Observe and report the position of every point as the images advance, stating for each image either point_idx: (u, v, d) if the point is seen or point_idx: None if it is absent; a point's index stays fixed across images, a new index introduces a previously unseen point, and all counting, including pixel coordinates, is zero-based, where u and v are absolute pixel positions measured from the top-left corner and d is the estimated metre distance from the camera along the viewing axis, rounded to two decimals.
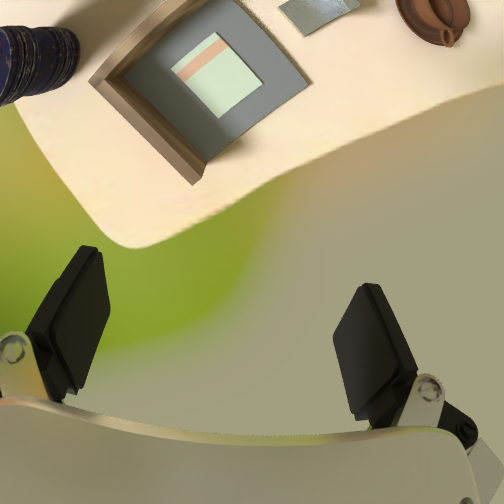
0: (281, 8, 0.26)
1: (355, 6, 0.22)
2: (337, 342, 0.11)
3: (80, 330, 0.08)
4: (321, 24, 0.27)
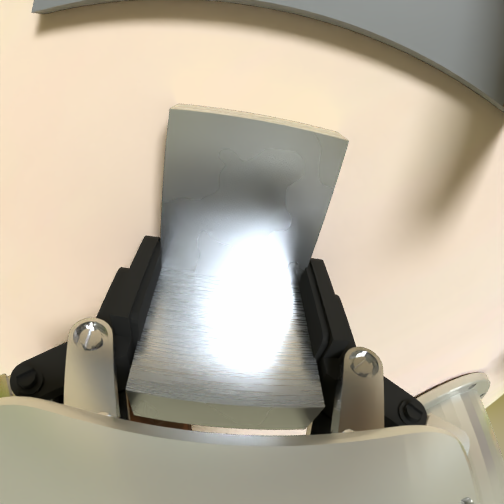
0: (334, 142, 0.08)
1: (137, 405, 0.07)
2: None
3: None
4: (167, 202, 0.09)
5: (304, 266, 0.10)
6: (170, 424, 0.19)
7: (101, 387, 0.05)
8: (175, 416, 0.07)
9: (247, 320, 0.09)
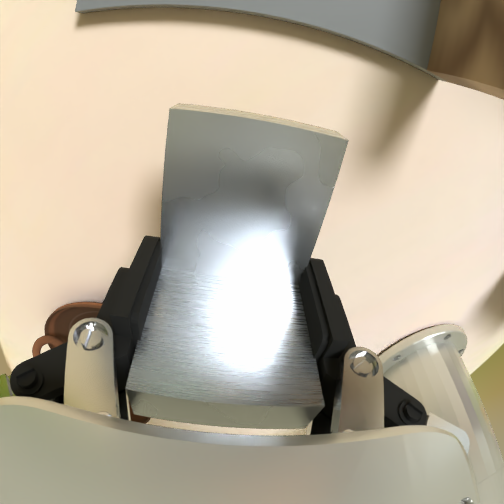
0: (334, 142, 0.08)
1: (137, 404, 0.07)
2: None
3: None
4: (167, 201, 0.09)
5: (304, 265, 0.10)
6: None
7: (101, 387, 0.05)
8: (174, 415, 0.07)
9: (247, 319, 0.09)
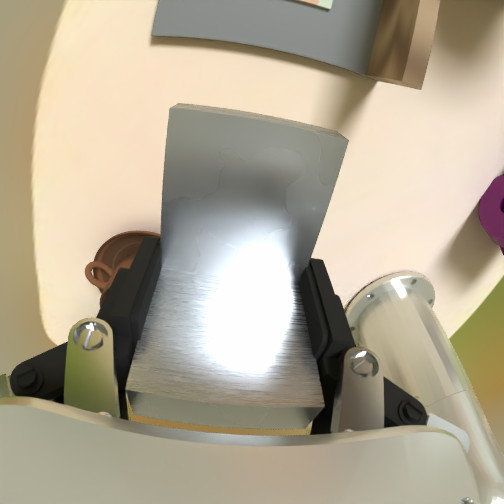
0: (334, 142, 0.08)
1: (137, 404, 0.07)
2: None
3: None
4: (167, 201, 0.09)
5: (304, 266, 0.10)
6: None
7: (101, 387, 0.05)
8: (174, 416, 0.07)
9: (247, 319, 0.09)
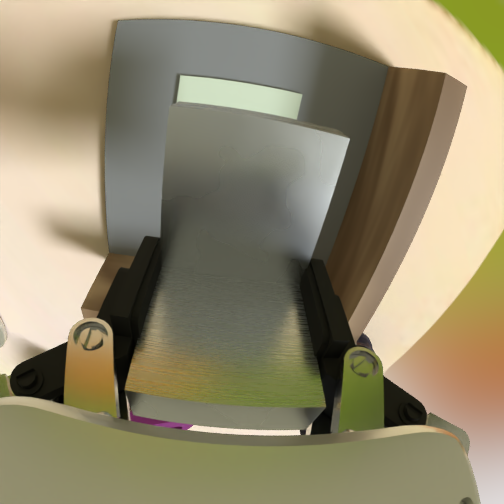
0: (335, 140, 0.08)
1: (136, 405, 0.07)
2: None
3: None
4: (167, 200, 0.09)
5: (305, 265, 0.10)
6: None
7: (101, 387, 0.05)
8: (174, 416, 0.07)
9: (247, 319, 0.09)
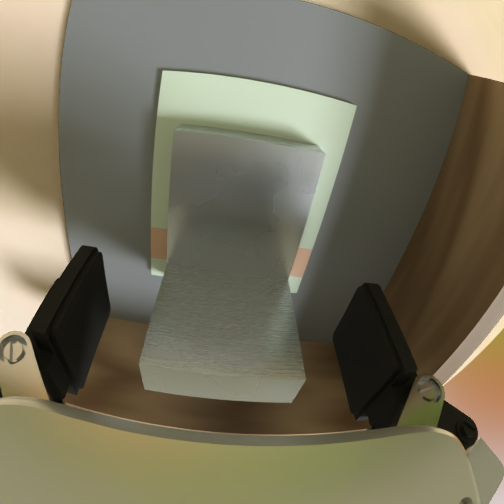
0: (313, 156, 0.09)
1: (147, 378, 0.08)
2: (337, 342, 0.11)
3: (80, 330, 0.08)
4: (173, 208, 0.10)
5: (291, 262, 0.12)
6: None
7: (35, 394, 0.05)
8: (179, 388, 0.09)
9: (241, 307, 0.11)
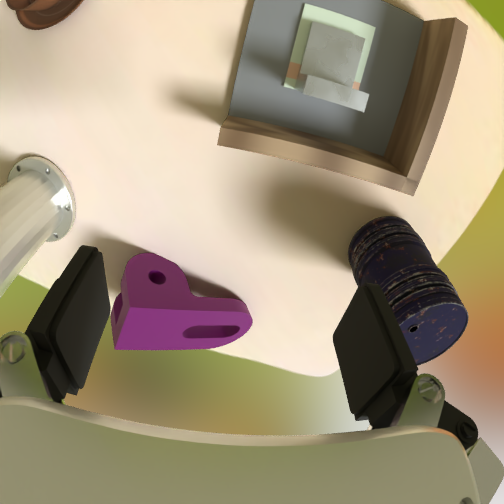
0: (361, 38, 0.20)
1: (307, 85, 0.19)
2: (337, 342, 0.11)
3: (80, 330, 0.08)
4: (308, 48, 0.21)
5: (353, 79, 0.23)
6: (39, 18, 0.18)
7: (35, 394, 0.05)
8: (319, 92, 0.20)
9: None
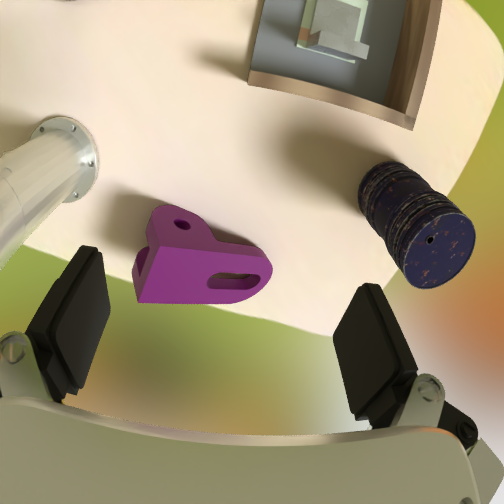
0: (357, 8, 0.23)
1: (321, 38, 0.22)
2: (337, 342, 0.11)
3: (80, 330, 0.08)
4: (315, 15, 0.24)
5: None
6: None
7: (35, 394, 0.05)
8: (331, 43, 0.22)
9: None
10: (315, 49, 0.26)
